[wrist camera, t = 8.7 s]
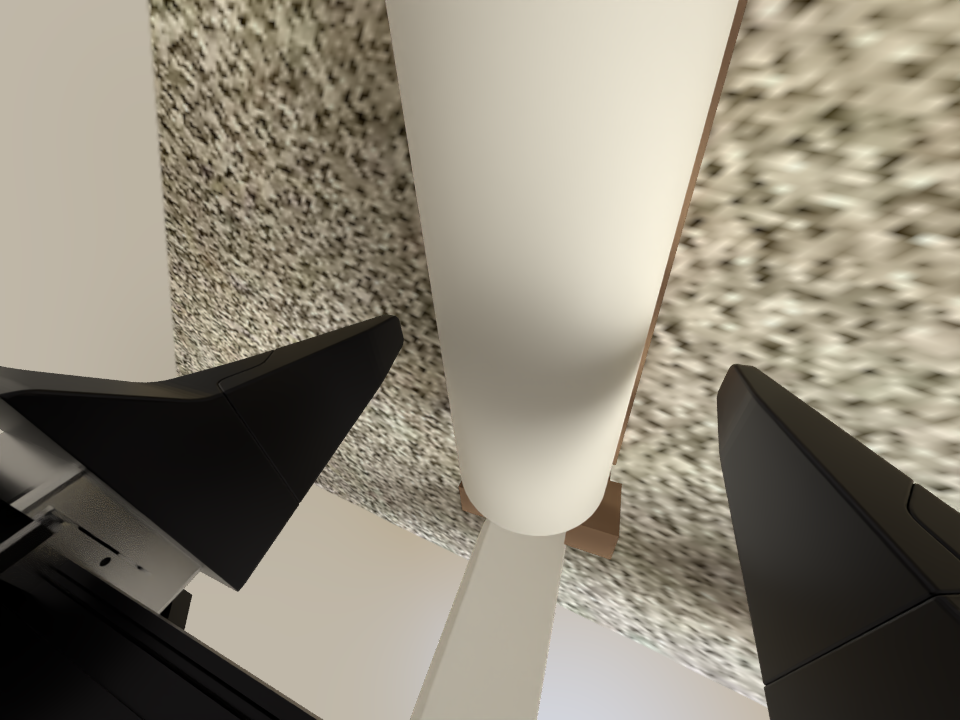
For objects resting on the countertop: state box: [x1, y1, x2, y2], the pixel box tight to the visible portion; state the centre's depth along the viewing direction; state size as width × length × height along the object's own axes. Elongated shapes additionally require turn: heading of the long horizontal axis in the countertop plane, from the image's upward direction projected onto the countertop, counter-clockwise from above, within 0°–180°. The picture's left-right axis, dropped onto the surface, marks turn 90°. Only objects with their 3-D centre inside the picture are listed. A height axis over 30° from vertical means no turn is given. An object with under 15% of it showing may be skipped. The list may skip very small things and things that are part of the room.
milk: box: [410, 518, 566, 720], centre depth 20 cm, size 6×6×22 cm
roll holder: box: [459, 0, 747, 560], centre depth 12 cm, size 22×7×6 cm, turn 4°
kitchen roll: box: [385, 0, 739, 536], centre depth 11 cm, size 22×6×6 cm, turn 4°
